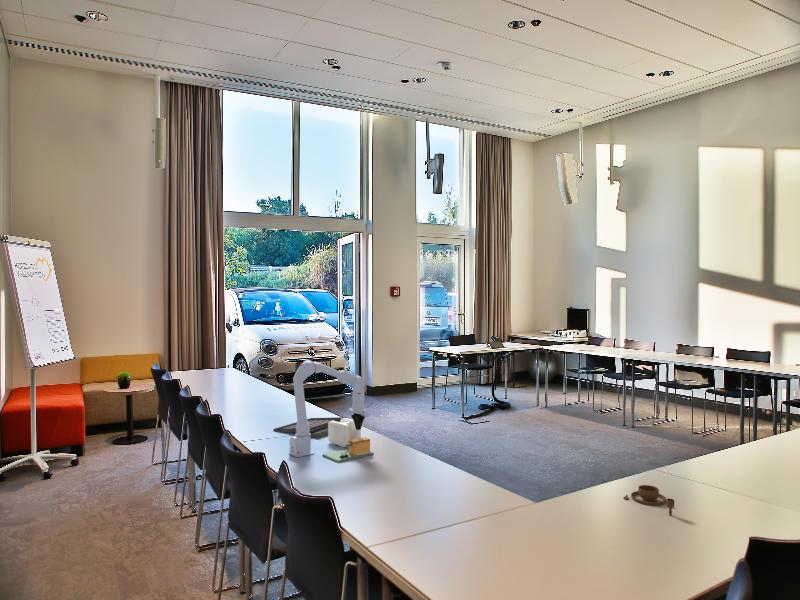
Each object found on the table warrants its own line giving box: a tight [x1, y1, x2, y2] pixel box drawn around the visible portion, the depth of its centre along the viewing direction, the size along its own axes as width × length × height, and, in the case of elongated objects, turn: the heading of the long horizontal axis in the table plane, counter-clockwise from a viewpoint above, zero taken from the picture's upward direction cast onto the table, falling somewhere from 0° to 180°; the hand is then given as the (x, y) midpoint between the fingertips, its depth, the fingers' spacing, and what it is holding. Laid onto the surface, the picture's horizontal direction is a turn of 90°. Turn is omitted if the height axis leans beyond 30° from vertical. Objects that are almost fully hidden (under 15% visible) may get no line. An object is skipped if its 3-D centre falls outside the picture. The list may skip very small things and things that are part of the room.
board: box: [322, 448, 374, 463], centre depth 264 cm, size 20×13×1 cm, turn 130°
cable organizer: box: [327, 417, 362, 448], centre depth 285 cm, size 15×11×12 cm
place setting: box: [623, 484, 676, 517], centre depth 204 cm, size 18×20×6 cm
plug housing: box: [345, 436, 371, 455], centre depth 265 cm, size 12×5×6 cm, turn 130°
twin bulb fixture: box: [340, 450, 349, 458], centre depth 258 cm, size 4×1×3 cm, turn 130°
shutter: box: [272, 416, 347, 440], centre depth 316 cm, size 32×7×31 cm
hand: (358, 429), depth 272 cm, fingers closed
